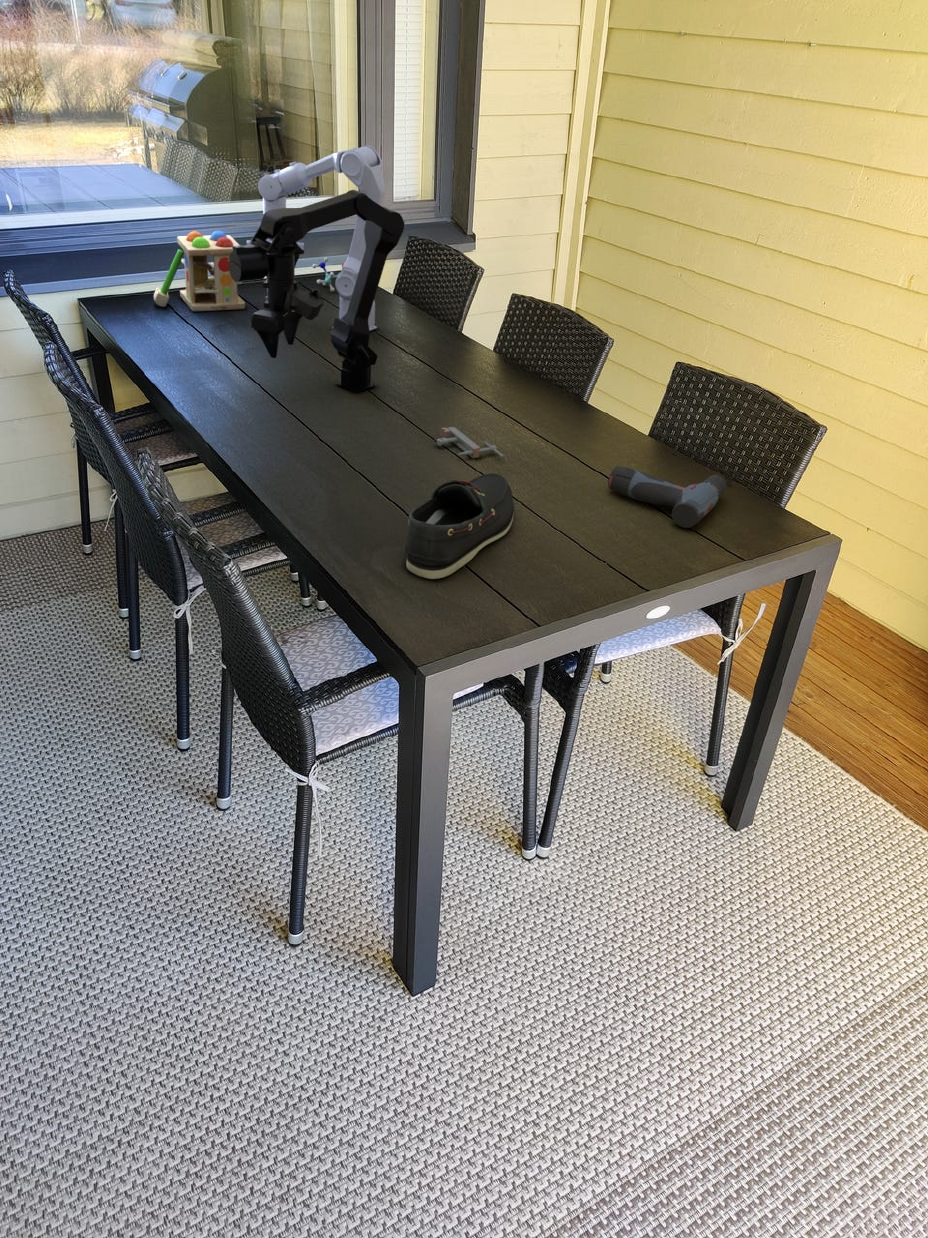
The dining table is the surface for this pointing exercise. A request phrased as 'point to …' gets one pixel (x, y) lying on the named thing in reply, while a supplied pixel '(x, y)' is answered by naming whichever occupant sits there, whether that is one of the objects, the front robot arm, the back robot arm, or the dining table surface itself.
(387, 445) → the dining table surface
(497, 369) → the dining table surface
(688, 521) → the power drill
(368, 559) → the dining table surface
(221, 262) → the pounding bench toy
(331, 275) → the molecular model
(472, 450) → the clamp
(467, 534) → the boat shoe
